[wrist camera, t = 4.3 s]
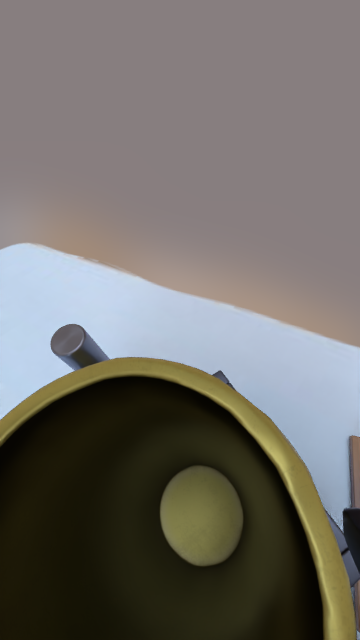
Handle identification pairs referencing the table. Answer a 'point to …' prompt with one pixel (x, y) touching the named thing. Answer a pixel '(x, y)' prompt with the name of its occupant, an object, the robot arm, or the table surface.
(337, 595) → the vase
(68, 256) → the table surface
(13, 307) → the table surface
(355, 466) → the cork pad
